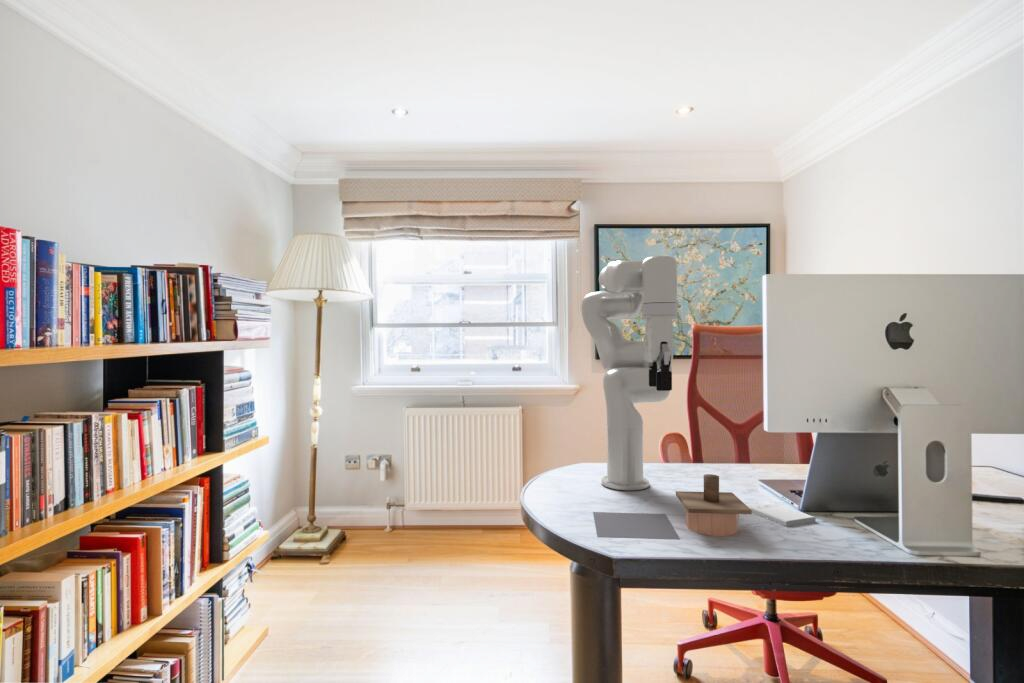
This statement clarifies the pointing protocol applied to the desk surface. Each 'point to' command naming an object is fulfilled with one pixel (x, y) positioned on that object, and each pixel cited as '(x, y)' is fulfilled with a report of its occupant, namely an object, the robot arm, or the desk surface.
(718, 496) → the lid
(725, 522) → the bowl
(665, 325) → the robot arm
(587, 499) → the desk surface
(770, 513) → the external hard drive
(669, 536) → the mat
